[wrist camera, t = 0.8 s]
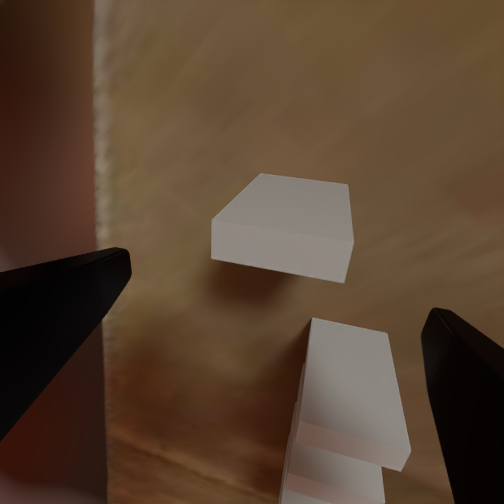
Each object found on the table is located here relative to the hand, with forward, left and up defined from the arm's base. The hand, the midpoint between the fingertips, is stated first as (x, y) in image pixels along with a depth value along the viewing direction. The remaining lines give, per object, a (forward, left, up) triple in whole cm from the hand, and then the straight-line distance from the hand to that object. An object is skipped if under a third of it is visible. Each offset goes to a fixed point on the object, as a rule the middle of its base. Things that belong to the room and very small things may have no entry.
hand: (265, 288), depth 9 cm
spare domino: (0, 0, -10) cm, 10 cm away
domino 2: (-8, +12, -10) cm, 18 cm away
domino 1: (-7, +8, -10) cm, 15 cm away
